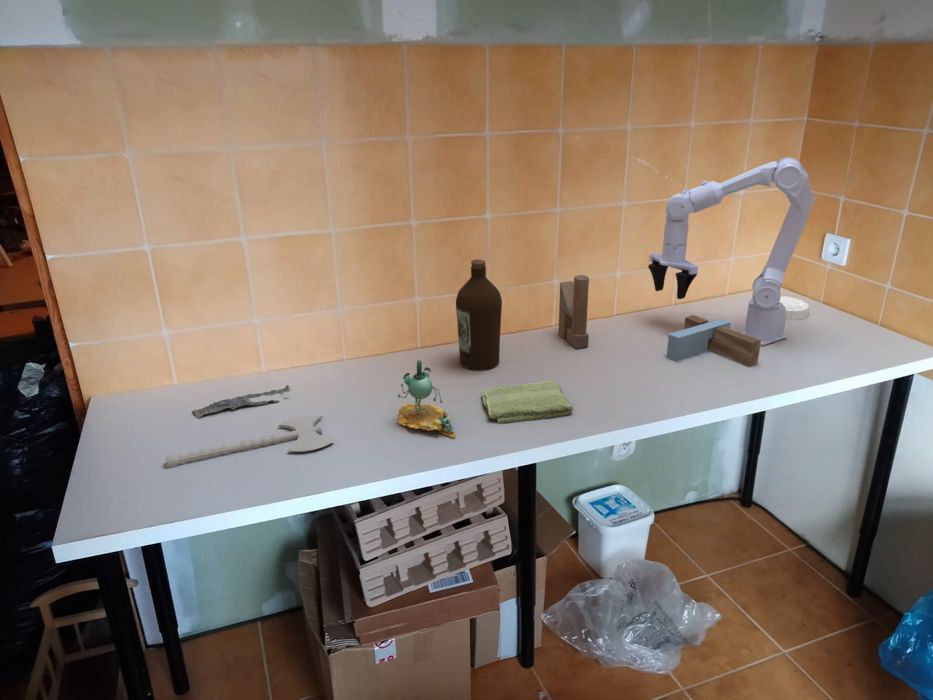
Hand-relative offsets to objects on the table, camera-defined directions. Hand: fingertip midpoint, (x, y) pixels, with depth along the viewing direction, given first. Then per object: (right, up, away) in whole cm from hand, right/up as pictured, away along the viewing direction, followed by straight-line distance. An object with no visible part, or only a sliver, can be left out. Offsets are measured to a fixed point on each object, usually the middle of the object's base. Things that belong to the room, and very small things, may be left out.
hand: (669, 294), depth 183 cm
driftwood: (-100, -27, -31) cm, 109 cm away
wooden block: (-26, -12, -3) cm, 29 cm away
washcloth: (-40, -27, -35) cm, 60 cm away
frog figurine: (-61, -29, -41) cm, 79 cm away
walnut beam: (+9, -15, -11) cm, 20 cm away
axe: (-94, -34, -48) cm, 111 cm away
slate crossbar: (+4, -15, -10) cm, 18 cm away
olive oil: (-50, -18, -14) cm, 55 cm away
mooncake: (+35, -5, +13) cm, 38 cm away
